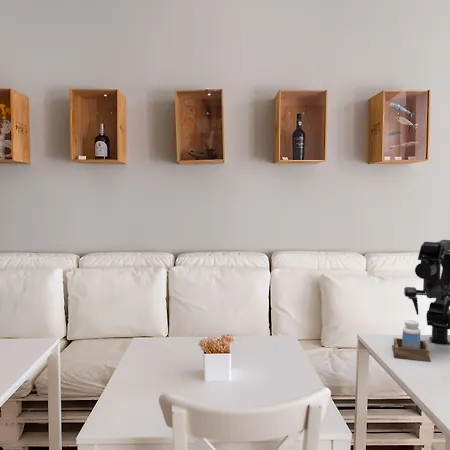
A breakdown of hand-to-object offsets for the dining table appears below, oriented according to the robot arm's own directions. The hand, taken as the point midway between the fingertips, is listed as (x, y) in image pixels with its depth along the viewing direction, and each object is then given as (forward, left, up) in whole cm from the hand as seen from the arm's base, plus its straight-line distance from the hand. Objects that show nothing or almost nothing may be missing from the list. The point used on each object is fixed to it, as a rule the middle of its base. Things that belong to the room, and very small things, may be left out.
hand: (430, 315), depth 166 cm
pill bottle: (+8, -7, -12) cm, 16 cm away
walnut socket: (+8, -8, -13) cm, 17 cm away
